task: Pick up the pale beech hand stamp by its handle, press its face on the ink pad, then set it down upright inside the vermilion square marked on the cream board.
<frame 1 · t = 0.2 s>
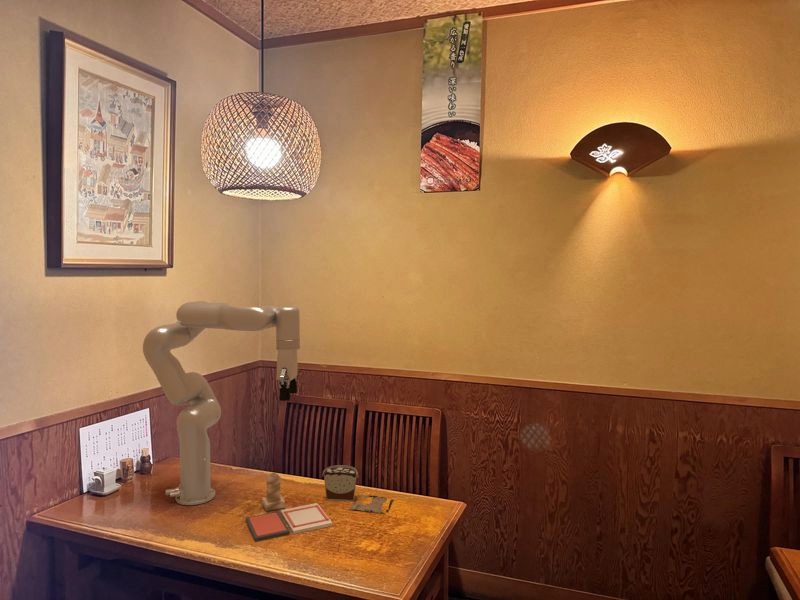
hand: (288, 396, 175), 36 cm above the table, tool pointing down, fingers open, 9 cm apart
stamp: (273, 506, 176), on the table
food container: (341, 497, 184), on the table
parchment: (372, 505, 179), on the table
ink pad: (267, 527, 162), on the table
marked board: (305, 519, 167), on the table
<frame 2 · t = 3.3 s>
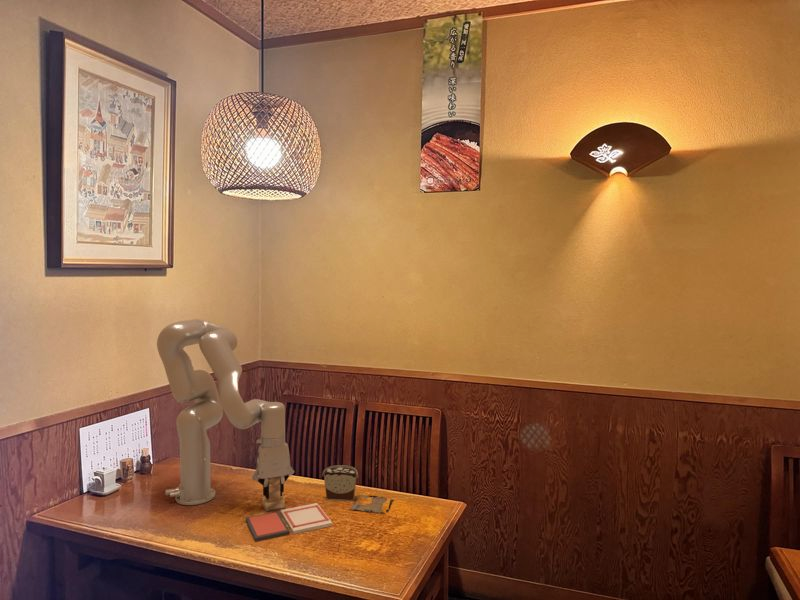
hand: (273, 495, 176), 4 cm above the table, tool pointing down, fingers closed on stamp, 3 cm apart
stamp: (273, 506, 176), on the table, touching gripper
everything else where it was.
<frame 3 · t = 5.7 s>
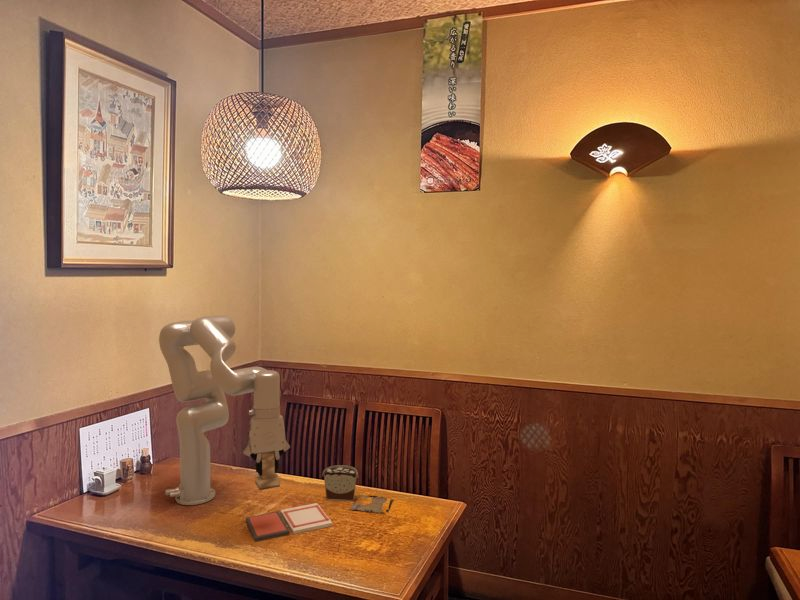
hand: (267, 472, 161), 17 cm above the table, tool pointing down, fingers closed on stamp, 3 cm apart
stamp: (267, 484, 161), point 13 cm above the table, touching gripper
everything else where it was.
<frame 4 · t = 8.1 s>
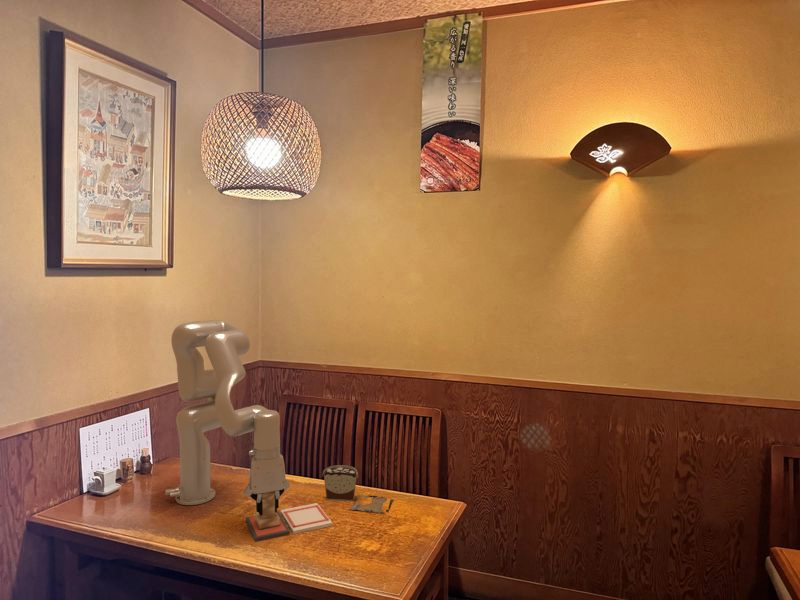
hand: (267, 511, 162), 5 cm above the table, tool pointing down, fingers closed on stamp, 3 cm apart
stamp: (267, 523, 162), point 1 cm above the table, touching gripper, ink pad
everything else where it was.
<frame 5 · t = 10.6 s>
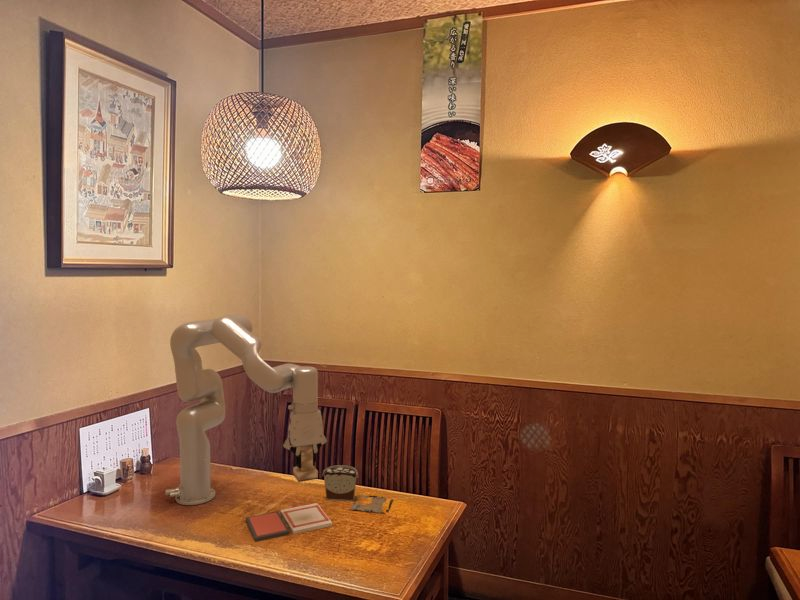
hand: (305, 465, 166), 17 cm above the table, tool pointing down, fingers closed on stamp, 3 cm apart
stamp: (305, 476, 166), point 14 cm above the table, touching gripper
everything else where it was.
when the fingers open (6 cm above the table, at t = 12.9 s): stamp drops 1 cm, resting on marked board.
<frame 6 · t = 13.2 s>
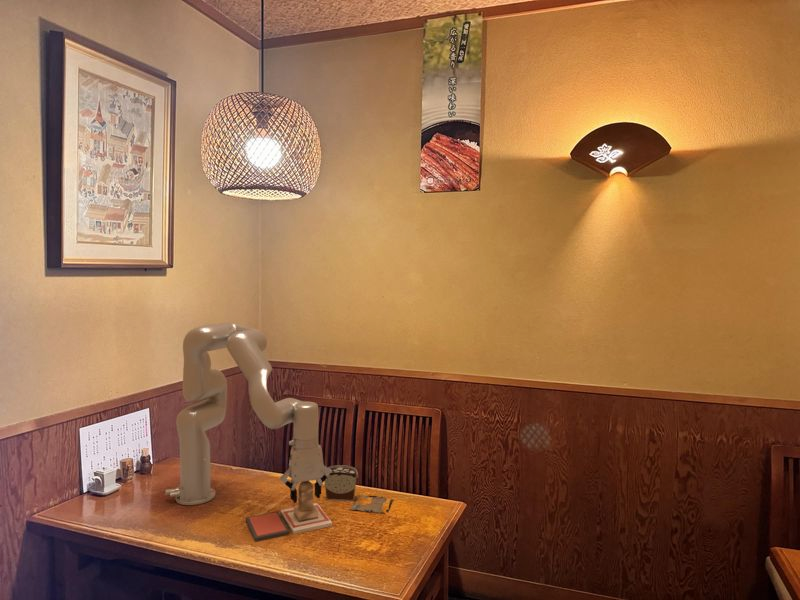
hand: (305, 498, 167), 7 cm above the table, tool pointing down, fingers open, 6 cm apart
stamp: (305, 516, 167), point 1 cm above the table, touching marked board
everything else where it was.
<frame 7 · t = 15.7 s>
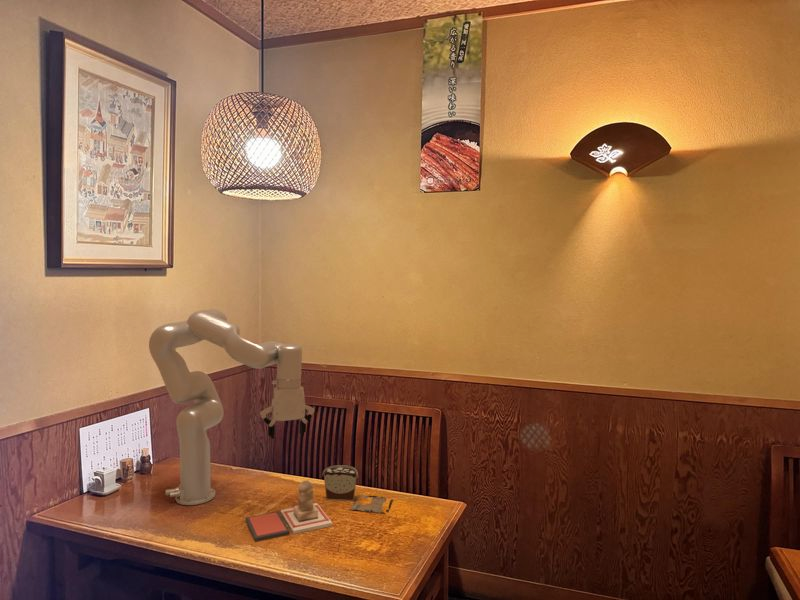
hand: (286, 436, 172), 24 cm above the table, tool pointing down, fingers open, 9 cm apart
nothing on the table moved.
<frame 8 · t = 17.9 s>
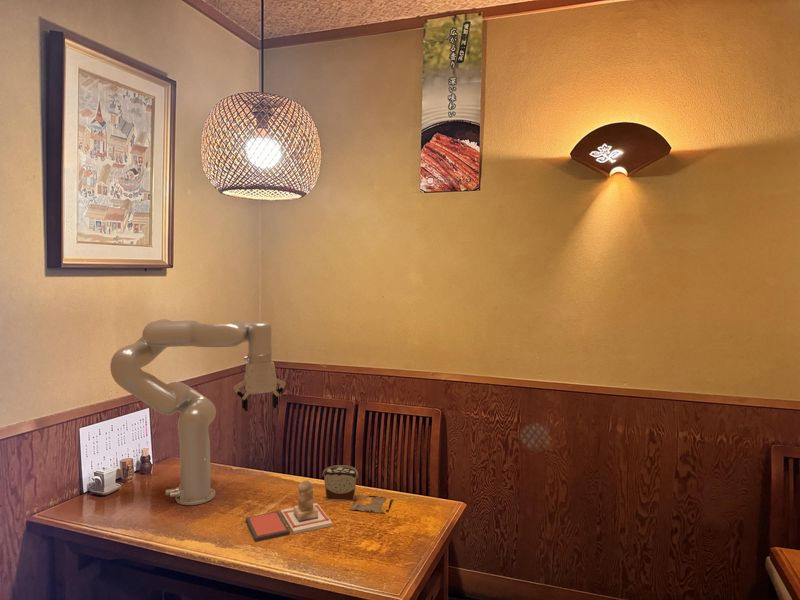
hand: (260, 408, 182), 30 cm above the table, tool pointing down, fingers open, 9 cm apart
nothing on the table moved.
at the end: stamp 0.1 cm off-centre on the marked board, point 1.0 cm above the marked board's base; stamp tilted 0°; the gripper is holding nothing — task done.
